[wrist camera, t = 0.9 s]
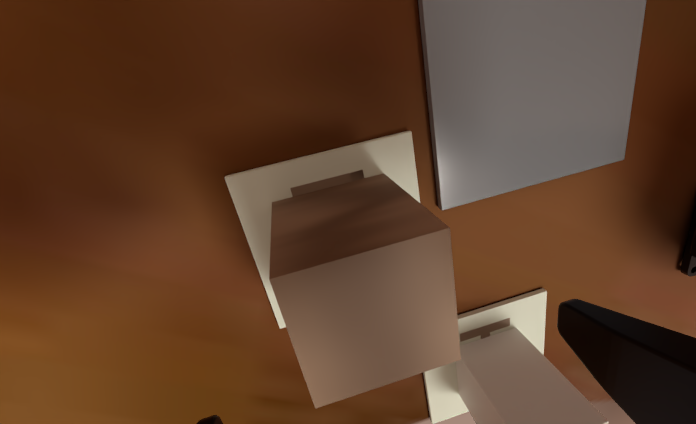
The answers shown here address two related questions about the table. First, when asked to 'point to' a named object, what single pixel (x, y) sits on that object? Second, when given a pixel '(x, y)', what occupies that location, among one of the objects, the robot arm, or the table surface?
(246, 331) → the table surface
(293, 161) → the cream glyph tile
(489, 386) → the beige block
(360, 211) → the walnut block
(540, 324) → the code tile
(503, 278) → the table surface
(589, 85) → the slate coaster
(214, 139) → the table surface
